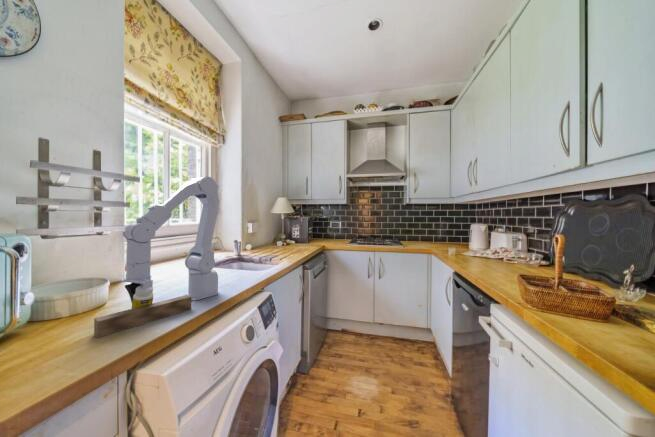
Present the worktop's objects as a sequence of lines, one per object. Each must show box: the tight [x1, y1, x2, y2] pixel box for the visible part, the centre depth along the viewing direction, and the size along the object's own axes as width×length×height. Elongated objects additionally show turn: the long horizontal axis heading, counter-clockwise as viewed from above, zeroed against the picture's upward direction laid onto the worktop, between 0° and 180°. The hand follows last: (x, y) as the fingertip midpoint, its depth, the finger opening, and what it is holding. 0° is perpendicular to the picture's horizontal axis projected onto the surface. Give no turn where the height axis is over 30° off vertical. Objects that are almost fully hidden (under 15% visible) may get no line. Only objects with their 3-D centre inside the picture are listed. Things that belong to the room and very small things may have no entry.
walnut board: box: [93, 294, 192, 339], centre depth 67 cm, size 22×3×4 cm, turn 147°
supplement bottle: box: [131, 285, 154, 309], centre depth 69 cm, size 5×5×8 cm
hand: (138, 307), depth 71 cm, fingers closed
